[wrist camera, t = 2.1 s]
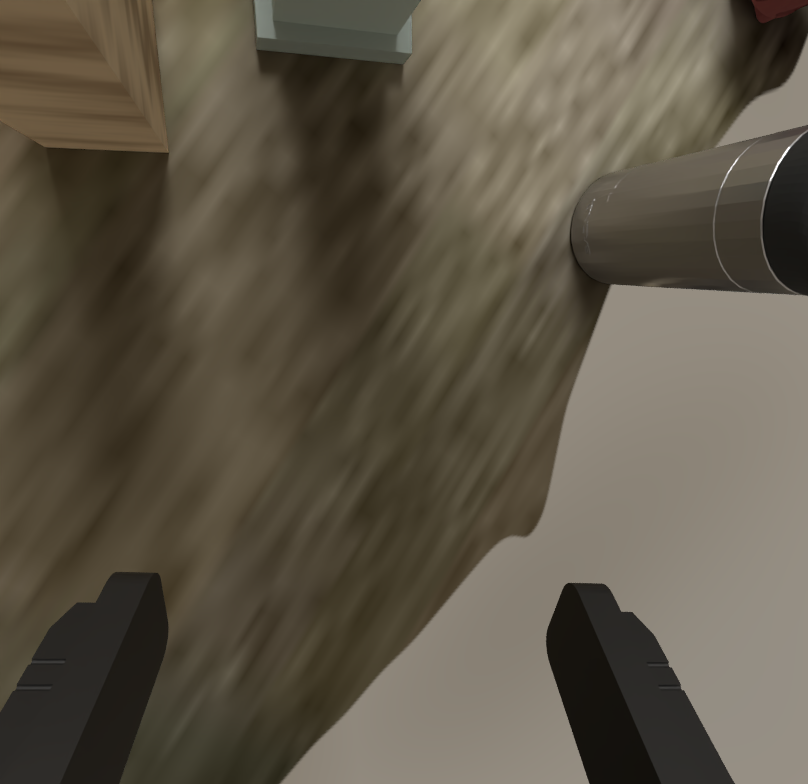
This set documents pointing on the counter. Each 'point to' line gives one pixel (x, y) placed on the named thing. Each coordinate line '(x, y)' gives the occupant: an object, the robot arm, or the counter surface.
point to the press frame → (337, 28)
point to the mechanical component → (776, 8)
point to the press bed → (82, 74)
